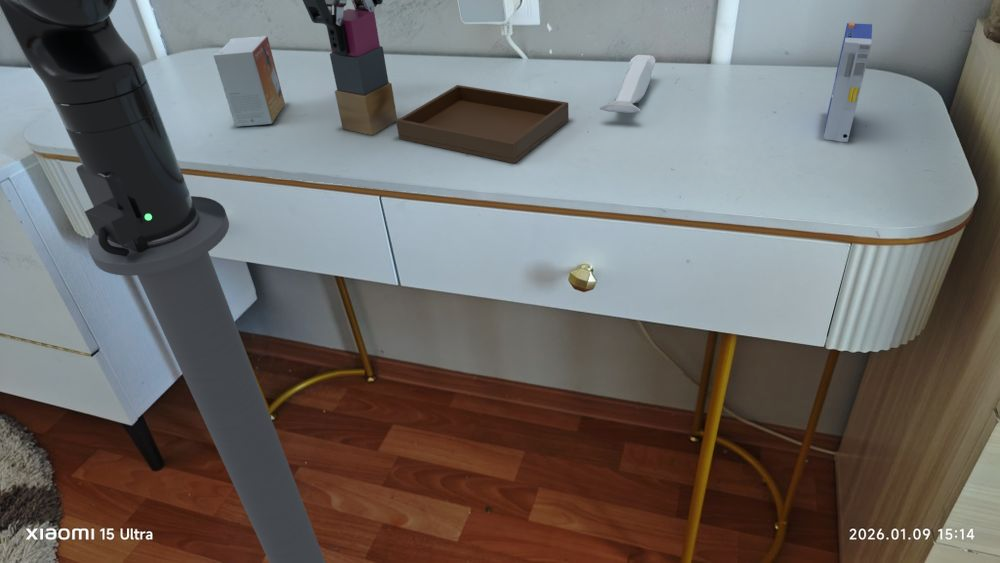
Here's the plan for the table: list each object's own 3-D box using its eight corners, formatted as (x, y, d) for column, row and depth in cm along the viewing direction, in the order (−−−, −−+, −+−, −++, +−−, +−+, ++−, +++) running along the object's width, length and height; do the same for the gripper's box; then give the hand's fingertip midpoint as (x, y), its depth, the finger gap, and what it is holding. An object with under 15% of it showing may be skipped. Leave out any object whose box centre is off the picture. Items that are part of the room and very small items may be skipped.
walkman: (826, 115, 89) (847, 19, 82) (850, 117, 88) (873, 21, 81) (822, 140, 83) (844, 39, 76) (847, 142, 82) (872, 41, 75)
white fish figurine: (661, 79, 104) (663, 53, 101) (639, 127, 90) (641, 98, 88) (625, 77, 105) (626, 51, 103) (598, 124, 92) (598, 95, 89)
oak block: (372, 135, 94) (364, 96, 91) (342, 129, 96) (334, 90, 93) (397, 120, 98) (391, 82, 94) (368, 114, 100) (361, 77, 97)
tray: (514, 163, 84) (513, 144, 82) (398, 138, 92) (395, 120, 91) (568, 120, 93) (568, 102, 92) (459, 101, 102) (457, 84, 100)
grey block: (364, 95, 91) (357, 57, 88) (337, 90, 93) (329, 53, 90) (388, 83, 94) (382, 46, 91) (361, 78, 97) (354, 42, 94)
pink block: (357, 57, 88) (350, 21, 86) (331, 53, 90) (324, 17, 88) (380, 46, 91) (374, 11, 89) (354, 43, 93) (348, 8, 91)
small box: (272, 125, 99) (252, 52, 93) (234, 127, 100) (211, 55, 93) (286, 104, 106) (268, 34, 100) (250, 107, 106) (230, 37, 100)
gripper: (345, -108, 87) (369, 30, 97) (259, -89, 78) (296, 61, 88) (391, -108, 84) (411, 35, 94) (307, -88, 74) (339, 68, 84)
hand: (355, 47), depth 91 cm, fingers closed on pink block, 4 cm apart
